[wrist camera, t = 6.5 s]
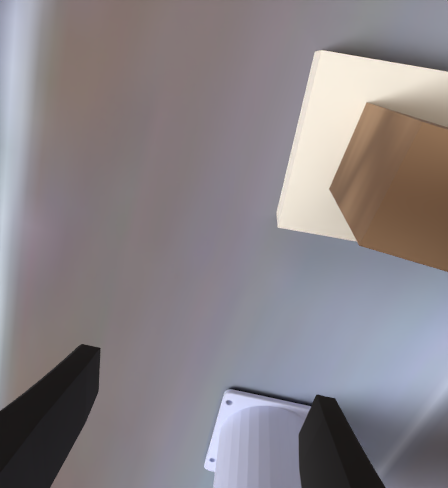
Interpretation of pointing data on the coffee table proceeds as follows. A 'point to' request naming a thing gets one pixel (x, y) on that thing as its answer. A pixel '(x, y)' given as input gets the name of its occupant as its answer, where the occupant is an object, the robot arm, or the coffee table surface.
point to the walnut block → (396, 186)
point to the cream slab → (347, 129)
